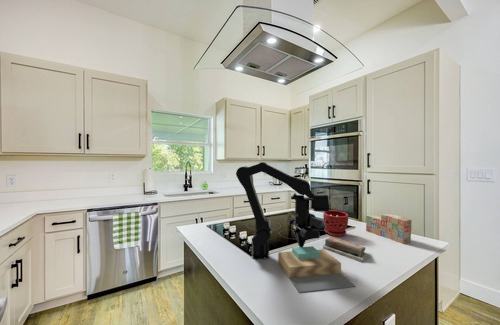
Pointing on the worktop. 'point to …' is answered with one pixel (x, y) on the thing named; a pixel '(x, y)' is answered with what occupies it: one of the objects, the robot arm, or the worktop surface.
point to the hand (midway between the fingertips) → (301, 247)
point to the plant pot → (335, 222)
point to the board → (308, 264)
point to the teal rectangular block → (306, 252)
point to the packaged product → (346, 249)
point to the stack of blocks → (390, 227)
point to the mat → (321, 282)
